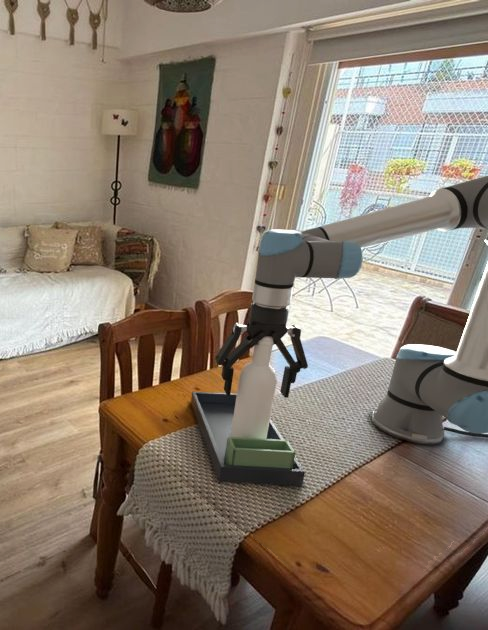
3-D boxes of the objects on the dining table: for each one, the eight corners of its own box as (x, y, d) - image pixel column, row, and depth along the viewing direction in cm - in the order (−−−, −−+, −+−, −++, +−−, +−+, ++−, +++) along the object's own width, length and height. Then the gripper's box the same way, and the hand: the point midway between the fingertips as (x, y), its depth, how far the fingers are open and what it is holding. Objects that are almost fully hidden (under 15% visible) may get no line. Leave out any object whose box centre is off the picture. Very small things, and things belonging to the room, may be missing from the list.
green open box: (223, 462, 101) (227, 436, 99) (281, 466, 100) (287, 439, 98) (229, 475, 97) (233, 449, 94) (289, 479, 96) (295, 452, 93)
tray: (190, 403, 128) (192, 391, 127) (252, 406, 127) (254, 394, 125) (219, 481, 96) (221, 466, 95) (301, 486, 95) (305, 471, 94)
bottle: (257, 441, 109) (277, 328, 99) (268, 461, 101) (291, 342, 92) (224, 439, 109) (241, 327, 100) (233, 459, 102) (251, 340, 92)
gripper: (321, 300, 96) (303, 388, 103) (208, 297, 98) (198, 383, 105) (338, 311, 89) (317, 404, 96) (216, 307, 91) (204, 399, 98)
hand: (255, 393), depth 100 cm, fingers open, 12 cm apart
